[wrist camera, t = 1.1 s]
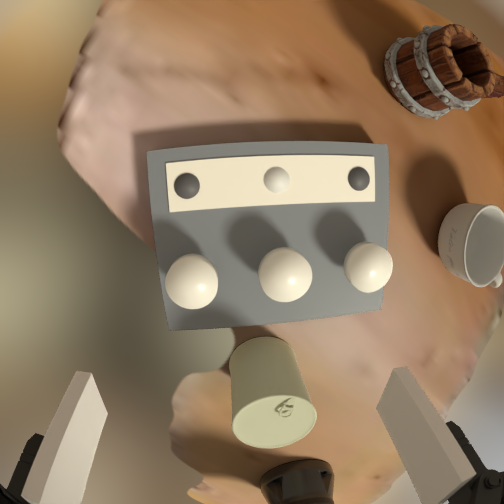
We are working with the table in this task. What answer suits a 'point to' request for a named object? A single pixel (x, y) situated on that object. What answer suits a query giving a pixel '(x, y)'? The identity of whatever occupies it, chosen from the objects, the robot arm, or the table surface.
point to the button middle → (284, 274)
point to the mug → (440, 71)
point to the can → (269, 394)
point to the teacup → (473, 243)
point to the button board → (268, 223)
